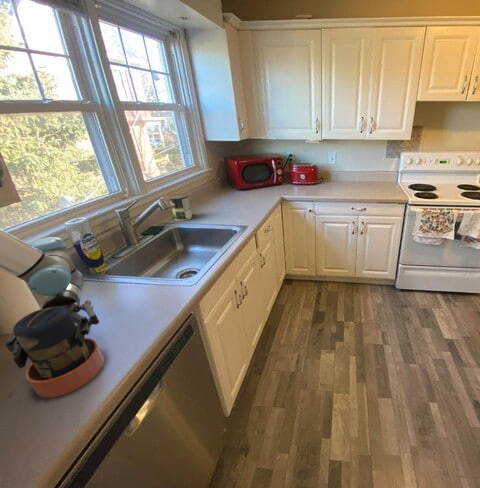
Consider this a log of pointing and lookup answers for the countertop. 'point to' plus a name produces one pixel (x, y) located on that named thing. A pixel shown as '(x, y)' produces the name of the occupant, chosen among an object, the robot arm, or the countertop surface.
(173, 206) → the coffee can
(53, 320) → the canister
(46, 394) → the ring
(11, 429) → the countertop surface
